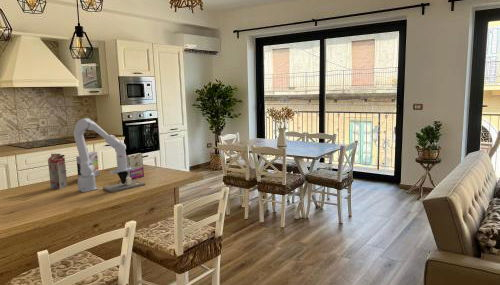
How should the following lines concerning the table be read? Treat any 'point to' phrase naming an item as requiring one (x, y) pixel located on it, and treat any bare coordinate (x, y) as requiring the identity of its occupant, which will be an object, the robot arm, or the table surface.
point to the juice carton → (57, 171)
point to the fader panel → (123, 186)
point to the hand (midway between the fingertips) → (123, 183)
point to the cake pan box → (94, 160)
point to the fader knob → (128, 181)
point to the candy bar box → (135, 165)
